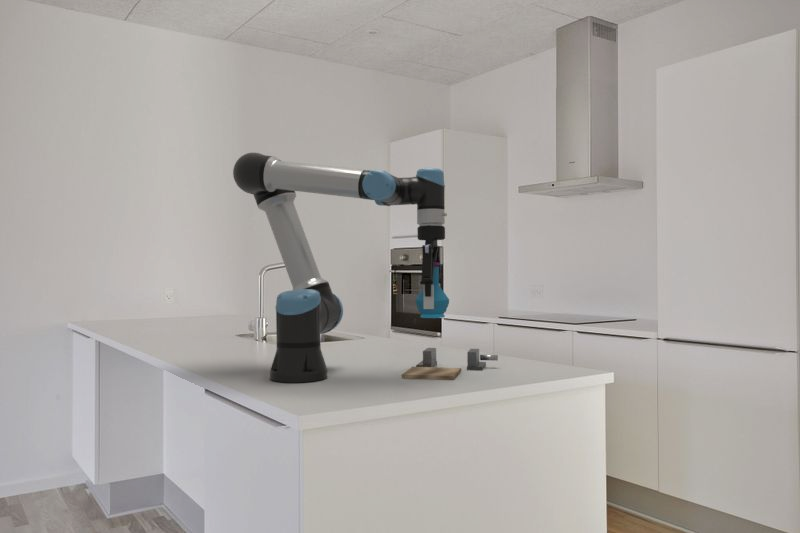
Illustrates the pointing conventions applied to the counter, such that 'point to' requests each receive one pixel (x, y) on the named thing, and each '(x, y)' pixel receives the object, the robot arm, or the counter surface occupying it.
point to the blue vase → (439, 299)
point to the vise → (472, 359)
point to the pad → (432, 373)
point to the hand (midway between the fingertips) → (432, 307)
